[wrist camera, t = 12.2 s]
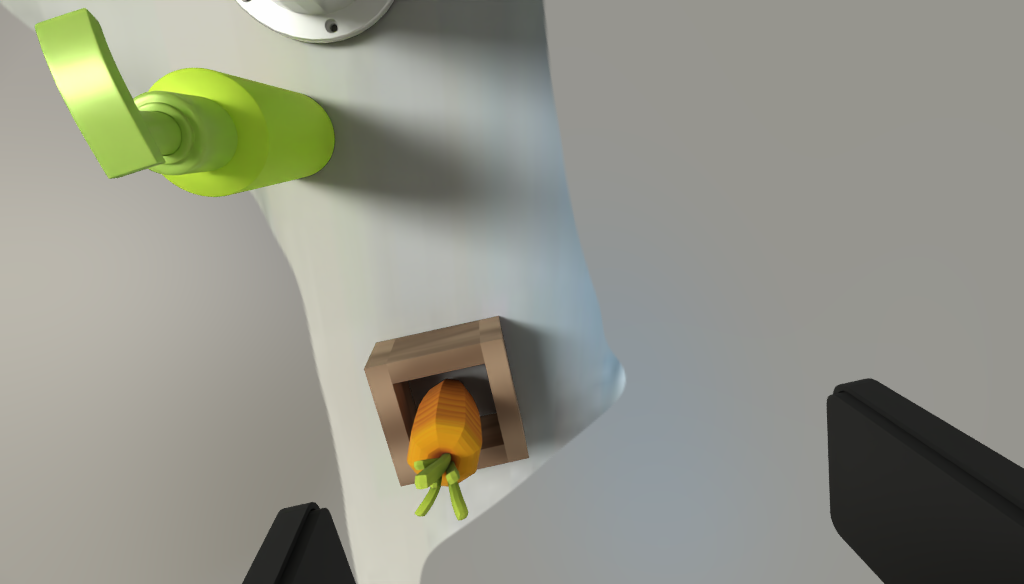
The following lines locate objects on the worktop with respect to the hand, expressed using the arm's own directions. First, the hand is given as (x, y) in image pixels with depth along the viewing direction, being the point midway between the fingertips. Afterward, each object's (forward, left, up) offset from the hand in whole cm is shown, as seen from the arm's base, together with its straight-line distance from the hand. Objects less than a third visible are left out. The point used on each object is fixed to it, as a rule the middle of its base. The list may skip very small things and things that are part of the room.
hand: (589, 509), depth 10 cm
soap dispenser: (-10, -13, -32) cm, 36 cm away
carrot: (+12, -6, -32) cm, 35 cm away
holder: (+12, -6, -32) cm, 35 cm away
